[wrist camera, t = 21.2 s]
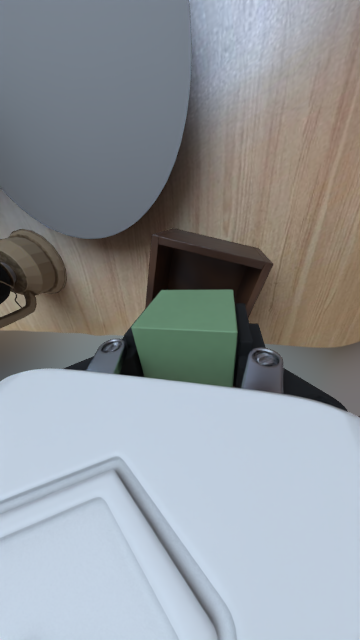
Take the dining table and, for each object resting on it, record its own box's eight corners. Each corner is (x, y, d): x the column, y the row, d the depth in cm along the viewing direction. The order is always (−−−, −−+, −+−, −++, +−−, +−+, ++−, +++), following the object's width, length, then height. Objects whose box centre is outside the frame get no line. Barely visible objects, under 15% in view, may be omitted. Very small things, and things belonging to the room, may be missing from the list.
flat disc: (197, 233, 25) (192, 236, 22) (37, 237, 31) (12, 240, 27) (200, -263, 11) (188, -500, 7) (-96, -87, 17) (-186, -172, 13)
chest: (172, 228, 26) (151, 234, 18) (259, 248, 25) (273, 263, 17) (161, 308, 33) (142, 335, 26) (227, 326, 32) (228, 360, 25)
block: (169, 344, 14) (148, 394, 10) (161, 289, 12) (130, 327, 8) (229, 348, 13) (231, 405, 9) (233, 289, 11) (237, 332, 7)
